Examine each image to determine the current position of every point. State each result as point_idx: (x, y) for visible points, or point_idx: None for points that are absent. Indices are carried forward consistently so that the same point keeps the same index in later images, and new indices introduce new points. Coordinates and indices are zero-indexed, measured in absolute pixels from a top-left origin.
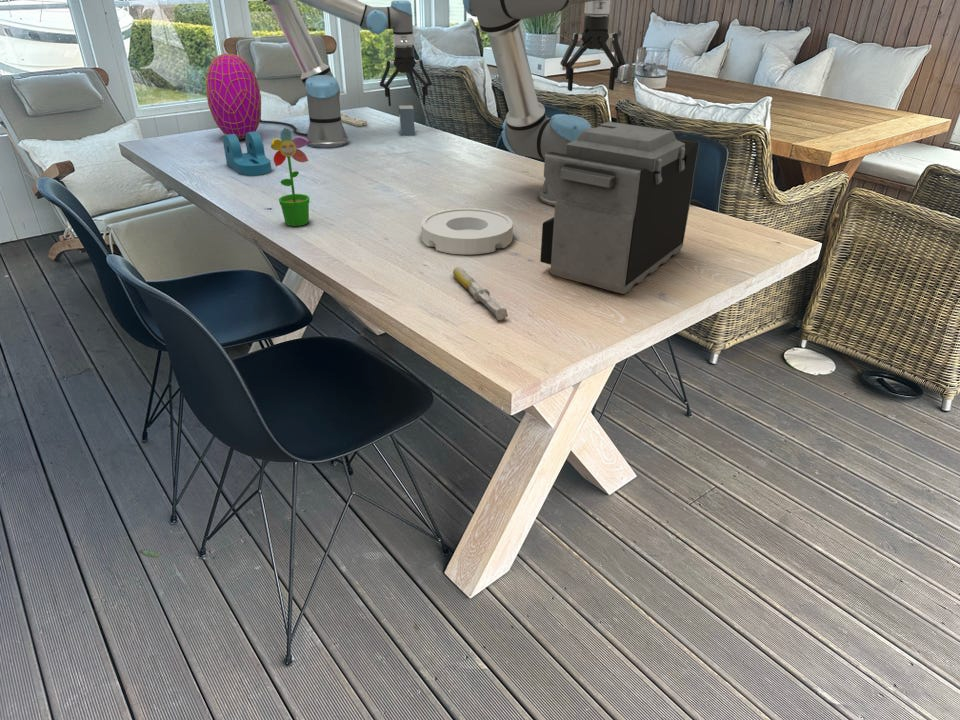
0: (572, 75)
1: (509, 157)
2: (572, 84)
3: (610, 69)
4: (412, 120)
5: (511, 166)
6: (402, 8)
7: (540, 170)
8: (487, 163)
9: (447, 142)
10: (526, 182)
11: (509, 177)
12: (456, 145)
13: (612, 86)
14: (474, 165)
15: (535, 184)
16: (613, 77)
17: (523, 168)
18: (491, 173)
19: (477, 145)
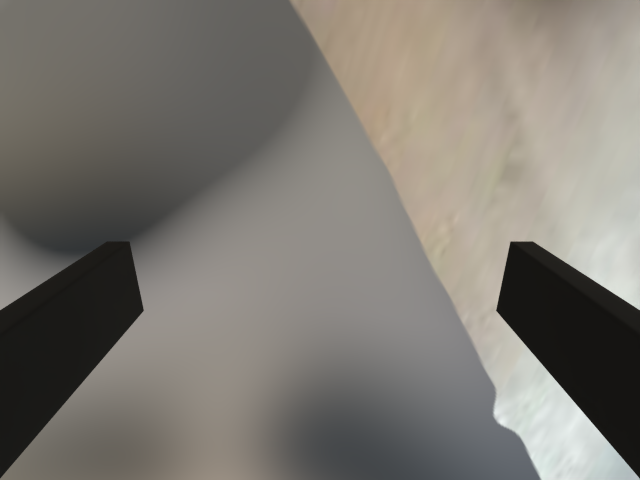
0: (629, 317)
1: (491, 331)
2: (545, 265)
3: (17, 456)
4: None
5: (525, 241)
6: None
7: (455, 187)
8: None
9: (591, 473)
10: (560, 44)
11: (588, 116)
12: (582, 448)
13: (102, 255)
14: (629, 264)
15: (540, 12)
16: (36, 298)
17: (499, 216)
18: (622, 171)
19: (528, 443)
